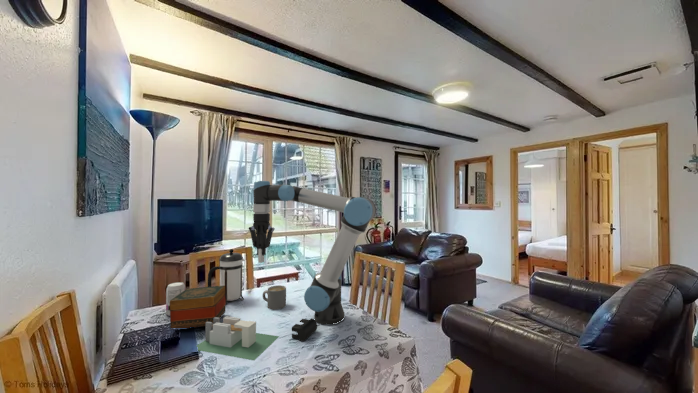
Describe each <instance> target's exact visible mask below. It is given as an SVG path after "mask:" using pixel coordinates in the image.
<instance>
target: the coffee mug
mask: <svg viewBox="0 0 698 393" xmlns="http://www.w3.org/2000/svg"><path fill="white" fill-rule="evenodd" d="M266 294H267V297H266ZM262 299H263V301H264V302H267V309H268V310H273V311H275V310H282V309H284V308H286V307H287V287H286V286H285V285H280V284H279V285H272V286H269V287H268V288H267V289H266V290H264V291H263V292H262Z"/></svg>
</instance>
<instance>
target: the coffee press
mask: <svg viewBox="0 0 698 393" xmlns="http://www.w3.org/2000/svg"><path fill="white" fill-rule="evenodd" d="M228 251H229V252H227V253H224V254H222V255H221V256H220V258H219V259H218V260H219V266H213V267H211V269H209V271H208V272H207V287H212V276H213V275H212V274H213V273H214V272H215V271H217V270H219V286H225V304H226V306H227V304H228V302H232V301H236V300H239V301H241V302H243V300H245V298H244V296H243V266H244V264H243V262H245V259H244V257H243V255H242V254H241V253H240V252H234V249H233V248H230V249H229V250H228Z"/></svg>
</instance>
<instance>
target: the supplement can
mask: <svg viewBox="0 0 698 393" xmlns="http://www.w3.org/2000/svg"><path fill="white" fill-rule="evenodd" d="M184 290H186V285H185V283H184V282H179V281H177V282H172V283H169V284H168V285H167V286H166V292H165V296H166V298H165V304H166V305H165V306H166V307H165V314H166V316H168V317H170V300H172V299H173V298H174V297H176V296H177V295H179V294H180V293H181V292H183V291H184Z"/></svg>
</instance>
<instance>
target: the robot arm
mask: <svg viewBox="0 0 698 393" xmlns="http://www.w3.org/2000/svg"><path fill="white" fill-rule="evenodd" d="M253 182H254V183H253V203H252V204H253V206H252V207H253V210H252V211H253V216H252V219H253V223H252V225H251V226H250V227H248V230H249V233H250V236H251V237H250V238H251V242H252V246H253V248H256V255H257V256H258V257H257V260H258V262H257V263H258V264H259V263H265V256H266V254H267V253H266V251H267V248H269V247H270V246H271V241H272V238H273V237H272V236H273V233H274V231H275V227H272V226H271V223H270V220H271V218H270V217H271V214H270V212H271V209H270V208H271V207H270V206H271V201H273V202H295V203H296V202H297V203H299V204H300V203H301V204H305V205H310V206H314V207H317V208H318V207H319V208H323V209H327V210H331V211H335V212H340V213H343V215H342V217H341V220H340V222H341V228H340V229H339V232H338V234H337V236H336V238H335V241H334V242H333V245H332V246H331V249H330V251H329V254H328V255H327V257H326V260H325V262H324V264H323V266H322V268H321V270H320V271H319V272H318V273H316V274H315V275H314V277H313V279H312V282H311V283H310V286H309V287H308V288H307V289H306V290H305V292H304V295H303V299H304V302H305V305H306V306H307V308H308V309H310V310H311V311H314V315H313V316H314V318H313V319H315V321H316V322H318V323H317V324H319V323H321V324H320V325H323V324H333V323H337V322H339V321H341V320H342V319H343V318H344V316H345V310H344V307H343V304H342V273H343V270H344V268H345V266H346V264H347V262H348V260H349V258H350V255H351V253H352V251H353V249H354V247H355V246H356V243H357V241H358V238H359V236H360V235H361V234H364V233H365V231H366V230H367V228H368V226H369V224H370V221H372V220H373V218H375V217H376V213H377V206H376V203H374V201H373V200H372V199H371V198H368V197H363V196H359V197H358V196H357V197H355V196H350V197H345V196H342V195H335V194H331V193H326V192H324V191H318V190H312V189H308V188H304V187H303V188H302V187H299V186H296V185H293V186H292V185H290V184H274V185H272V184H271V182H270V181H269V180H256V181H253ZM344 319H345V318H344Z"/></svg>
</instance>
